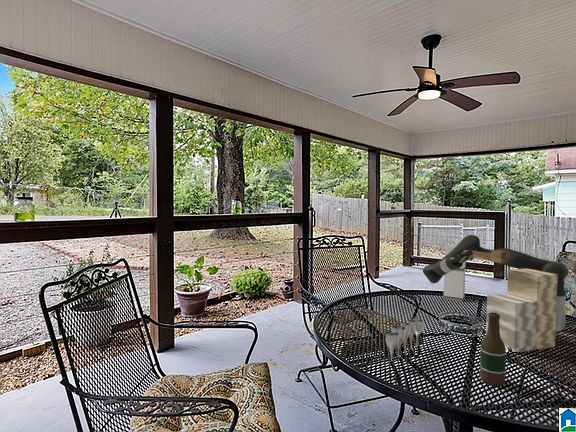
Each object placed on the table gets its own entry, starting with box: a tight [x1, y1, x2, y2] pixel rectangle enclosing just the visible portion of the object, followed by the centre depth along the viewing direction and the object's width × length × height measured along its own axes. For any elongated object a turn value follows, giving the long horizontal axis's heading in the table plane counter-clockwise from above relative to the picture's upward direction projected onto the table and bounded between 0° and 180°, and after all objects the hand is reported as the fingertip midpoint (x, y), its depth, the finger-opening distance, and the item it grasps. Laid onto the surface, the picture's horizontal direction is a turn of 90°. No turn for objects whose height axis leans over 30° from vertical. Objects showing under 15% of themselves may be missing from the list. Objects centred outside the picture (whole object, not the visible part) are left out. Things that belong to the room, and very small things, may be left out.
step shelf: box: [485, 268, 558, 353], centre depth 158 cm, size 24×14×32 cm, turn 109°
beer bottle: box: [479, 312, 507, 387], centre depth 124 cm, size 8×8×24 cm
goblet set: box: [385, 317, 425, 362], centre depth 145 cm, size 28×6×13 cm, turn 136°
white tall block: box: [442, 244, 467, 302], centre depth 234 cm, size 11×11×35 cm
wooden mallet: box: [464, 250, 509, 264], centre depth 169 cm, size 5×22×5 cm, turn 18°
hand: (474, 251), depth 175 cm, fingers closed on wooden mallet, 3 cm apart
